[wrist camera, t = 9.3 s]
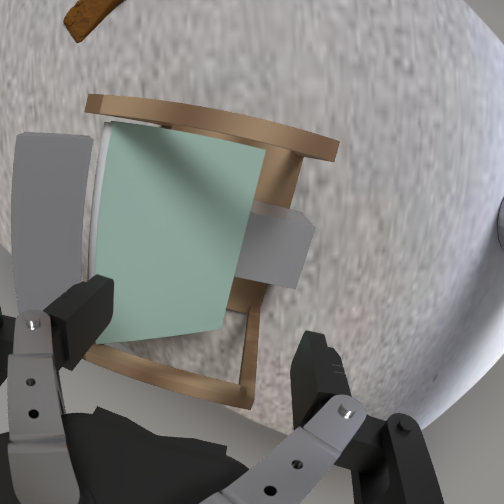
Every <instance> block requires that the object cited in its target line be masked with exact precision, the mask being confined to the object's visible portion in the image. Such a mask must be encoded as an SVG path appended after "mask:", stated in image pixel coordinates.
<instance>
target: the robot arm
mask: <svg viewBox="0 0 504 504" xmlns="http://www.w3.org/2000/svg"><path fill="white" fill-rule="evenodd" d="M498 235H499V241H500V244H501V247H502V248H503V250H504V200H503V202H502V205H501V208H500V213H499V218H498ZM113 305H114V280H113V279H111V278H108V277H105V276H102V275H99V274H96V275H94V276H93V277H92V278H91V279H90V280H88V281H87V282H84V281H83V282H81V283H78V284H75V285H73V286H72V287H70V288H69V289H68V290H67V291H66V292H64V293H63V294H62V295H61V296H60V297H58V298H57V299H56V300H54V301H53V302H52V303H51V304H50V305H48V306H47V307H46V308H45V309H44V310H43V311H40V310H27V311H24V312H22V313H20V314H19V315H18V316H17V318H14V317H9V316H5V315H2V312H1V307H0V386H1V384H2V383H3V382H4V381H5V380H6V378H7V377H8V379H7V381H8V382H7V386H8V387H7V393H8V394H7V395H8V419H9V420H8V421H9V432H6V433H2V434H0V504H300V503H301V502H302V501H303V500H304V499H305V497H306V496H307V495H308V494H309V493H310V492H311V491H312V489H313V488H314V487H315V486H316V485H317V483H318V482H319V481H320V480H321V479H322V478H323V476H324V475H325V474H326V473H327V472H328V470H329V469H330V468H331V467H332V465H333V464H334V465H337V466H340V467H343V468H347V469H350V470H351V475H352V484H353V495H354V504H444V501H443V497H442V494H441V491H440V487H439V484H438V481H437V477H436V474H435V471H434V468H433V464H432V462H431V458H430V455H429V452H428V450H427V446H426V443H425V441H424V438H423V435H422V432H421V429H420V427H419V425H418V423H417V422H416V421H415V420H414V419H413V418H411V417H410V416H408V415H405V414H401V413H397V414H393V415H391V416H390V417H389V418H388V420H387V421H383V420H380V419H377V418H374V417H371V416H368V415H367V414H366V409H365V407H364V406H363V404H362V403H361V402H360V401H358V400H357V399H355V398H353V397H352V396H351V392H350V389H349V385H348V381H347V378H346V375H345V371H344V368H343V367H342V366H343V364H342V361H341V357H340V356H339V354H338V353H337V352H336V351H335V349H334V348H331V347H327V343H326V339H325V335H324V334H321V333H316V332H311V331H305V332H304V334H303V336H302V339H301V341H300V344H299V346H298V349H297V351H296V353H295V356H294V358H293V361H292V364H291V369H290V379H291V394H292V410H293V427H294V431H293V432H292V433H291V434H290V435H289V436H288V437H287V438H286V439H285V440H284V441H282V442H281V443H280V444H279V445H278V446H277V447H276V448H275V449H274V450H272V451H271V452H270V453H269V454H268V455H266V456H265V457H264V458H263V459H262V460H261V461H259V462H258V463H257V464H256V465H255V466H253V467H252V468H251V469H249V468H247V467H246V466H245V465H243V464H242V463H240V462H239V461H237V460H235V459H233V458H232V457H229V456H227V455H226V450H227V446H225V445H220V444H215V443H211V442H206V441H202V440H198V439H194V438H179V437H167V436H158V435H155V434H153V433H152V432H150V431H148V430H146V429H145V428H143V427H141V426H139V425H138V424H136V423H135V422H133V421H131V420H129V419H128V418H126V417H123V416H121V415H118V414H115V413H112V412H110V411H108V410H105V409H103V408H100V407H98V406H97V408H96V409H95V411H94V413H93V414H87V413H71V414H66V410H65V405H64V400H63V395H62V389H61V382H60V376H59V370H60V368H61V367H64V368H67V369H68V370H71V371H72V370H73V369H74V368H75V367H76V365H77V364H78V363H79V361H80V360H81V359H82V358H83V356H84V355H85V354H86V353H87V351H88V350H89V349H90V347H91V346H92V345H93V344H94V342H95V341H96V340H97V339H98V337H99V336H100V335H101V334H102V333H103V331H104V330H105V329H106V328H107V326H108V325H109V324H110V322H111V319H112V316H113Z"/></svg>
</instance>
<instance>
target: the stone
mask: <svg viewBox="0 0 504 504" xmlns="http://www.w3.org/2000/svg"><path fill="white" fill-rule="evenodd" d="M314 230H315V227H314V226H313V224H312V223H311V222H310V221H309V220H308V218H307V217H306V216H305V215H304V214H303V213H302V212H299V211H295V210H291V209H287V208H284V207H280V206H276V205H271V204H267V203H263V202H259V201H255V200H253V203H252V206H251V210H250V214H249V218H248V222H247V226H246V230H245V234H244V238H243V242H242V246H241V250H240V254H239V258H238V262H237V266H236V270H235V274H234V276H235V277H239V278H244V279H249V280H253V281H258V282H263V283H268V284H272V285H277V286H282V287H287V288H292V289H296V286H297V283H298V280H299V277H300V274H301V271H302V268H303V265H304V261H305V258H306V255H307V252H308V249H309V246H310V243H311V240H312V236H313V233H314Z"/></svg>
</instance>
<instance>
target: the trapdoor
mask: <svg viewBox="0 0 504 504" xmlns="http://www.w3.org/2000/svg"><path fill="white" fill-rule="evenodd" d="M92 145H93V139H92V138H91V137H90V136H84V135H71V134H55V133H34V132H24V133H22V134H19V135H17V138H16V146H15V154H14V164H13V176H12V193H11V243H12V259H13V272H14V282H15V290H16V298H17V305H18V312H19V314H20V313H22V312H24V311H27V310H40V311H43V310H44V309H45V308H46V307H47V306H48V305H50V304H51V303H52V302H53V301H54V300H56V299H57V298H58V297H60V296H61V295H62V294H63V293H64V292H66V291H67V290H68V289H69V288H70V287H72V286H73V285H75V284H78V283H81V250H82V230H83V216H84V204H85V194H86V186H87V178H88V170H89V163H90V157H91V151H92ZM265 152H266V150H264V149H260V148H256V147H252V146H248V145H244V144H239V143H235V142H231V141H226V140H222V139H217V138H212V137H207V136H202V135H197V134H192V133H187V132H182V131H176V130H170V129H165V128H158V127H152V126H146V125H139V124H132V123H125V122H117V121H111V123H109V122H105V123H104V128H103V133H102V138H101V144H100V150H99V155H98V162H97V168H96V175H95V183H94V191H93V199H92V209H91V220H90V234H89V252H88V280H90V279H91V278H92V277H93V276H94V275H96V274H99V275H102V276H105V277H108V278H111V279H113V280H114V305H113V316H112V319H111V322H110V324H109V325H108V326H107V328H106V329H105V330H104V331H103V333H102V334H101V335H100V336H99V337H98V339H97V340H96V341H95V342H96V344H106V343H117V342H126V341H136V340H144V339H153V338H161V337H169V336H176V335H183V334H190V333H197V332H204V331H210V330H217V329H221V327H222V323H223V319H224V315H225V311H226V307H227V302H228V298H229V294H230V290H231V286H232V282H233V278H234V274H235V270H236V266H237V262H238V258H239V254H240V250H241V246H242V242H243V238H244V234H245V230H246V226H247V222H248V218H249V214H250V210H251V206H252V203H253V199H254V195H255V191H256V187H257V183H258V179H259V175H260V171H261V168H262V164H263V160H264V156H265Z"/></svg>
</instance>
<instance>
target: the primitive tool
mask: <svg viewBox="0 0 504 504" xmlns="http://www.w3.org/2000/svg"><path fill="white" fill-rule="evenodd" d="M122 1H123V0H79V1H78V2H77V3H76V4H75V6H74V7H72V8H71V9H70V10H69V12H68V13H67V15H66V16H65V18H64V23H65V24H66V27H67V29H68V31H69V32H70V34H71V36H72V37H73V38H74V40H75V41H76V42H77V43H79V42H81V41H82V40H83V39H84V38H85V37H86V36H87V35H88V34H89V33H90V32H91V31H92V30H93V29H94V28H95V27H96V26H97V25H98V24H99V23H100V22H101V21H102V20H103V19H104V18H105V17H106V16H107V15H108V14H109V13H110V12H111V11H112V10H113V9H114V8H115V7H116V6H117V5H118V4H119V3H120V2H122Z"/></svg>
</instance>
